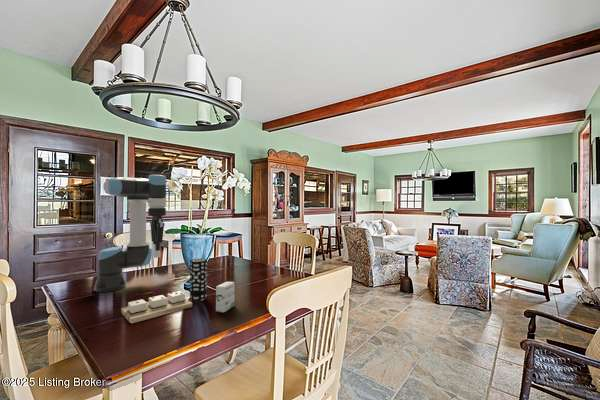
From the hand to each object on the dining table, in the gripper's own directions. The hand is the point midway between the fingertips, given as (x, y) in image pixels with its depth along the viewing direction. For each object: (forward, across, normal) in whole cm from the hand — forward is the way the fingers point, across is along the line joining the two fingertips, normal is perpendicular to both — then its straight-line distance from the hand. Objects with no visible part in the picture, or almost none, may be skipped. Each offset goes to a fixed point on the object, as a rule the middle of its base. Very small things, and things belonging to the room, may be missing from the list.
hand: (156, 257), depth 131 cm
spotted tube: (+25, +1, +20) cm, 32 cm away
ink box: (+25, +23, +24) cm, 41 cm away
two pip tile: (+22, +2, 0) cm, 22 cm away
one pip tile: (+22, +2, -9) cm, 24 cm away
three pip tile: (+22, +2, +8) cm, 24 cm away
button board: (+24, +2, 0) cm, 24 cm away
